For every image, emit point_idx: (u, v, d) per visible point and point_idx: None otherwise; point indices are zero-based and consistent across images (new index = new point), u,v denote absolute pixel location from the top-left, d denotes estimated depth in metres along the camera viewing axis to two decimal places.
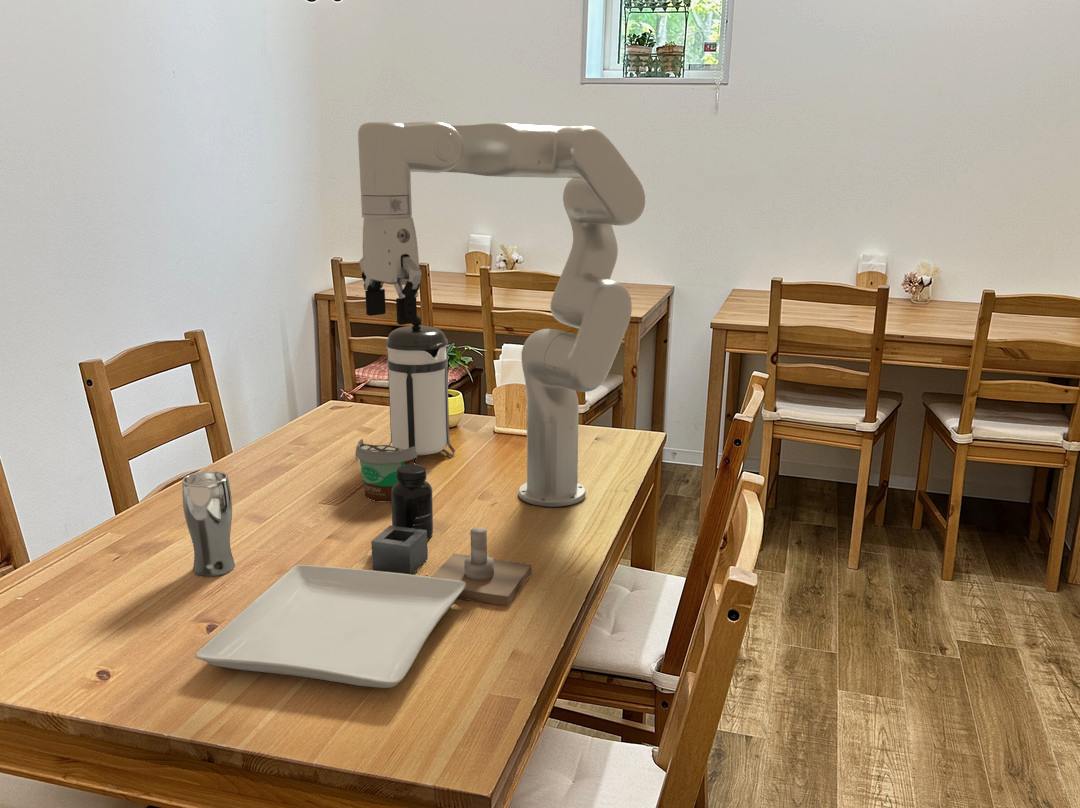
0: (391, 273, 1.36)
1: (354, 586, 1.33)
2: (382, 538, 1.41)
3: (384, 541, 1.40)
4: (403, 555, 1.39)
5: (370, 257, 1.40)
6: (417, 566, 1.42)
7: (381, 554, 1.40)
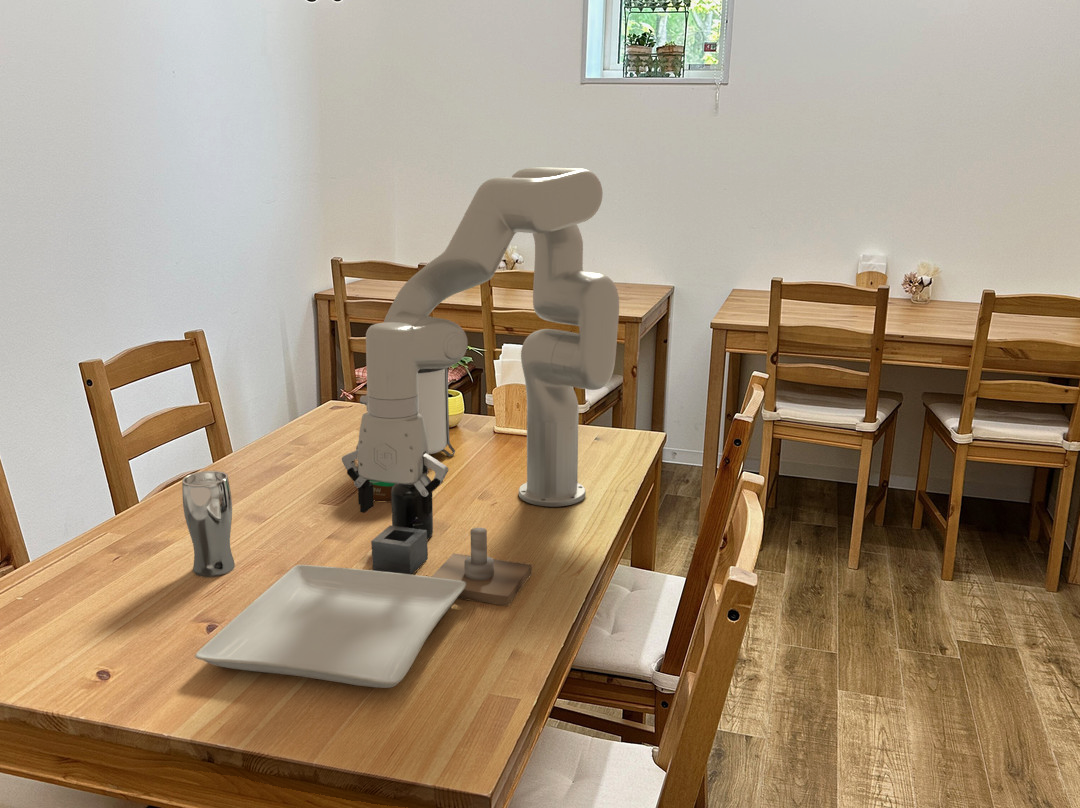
0: None
1: (354, 586, 1.33)
2: (382, 538, 1.41)
3: (384, 541, 1.40)
4: (403, 555, 1.39)
5: None
6: (417, 566, 1.42)
7: (381, 554, 1.40)
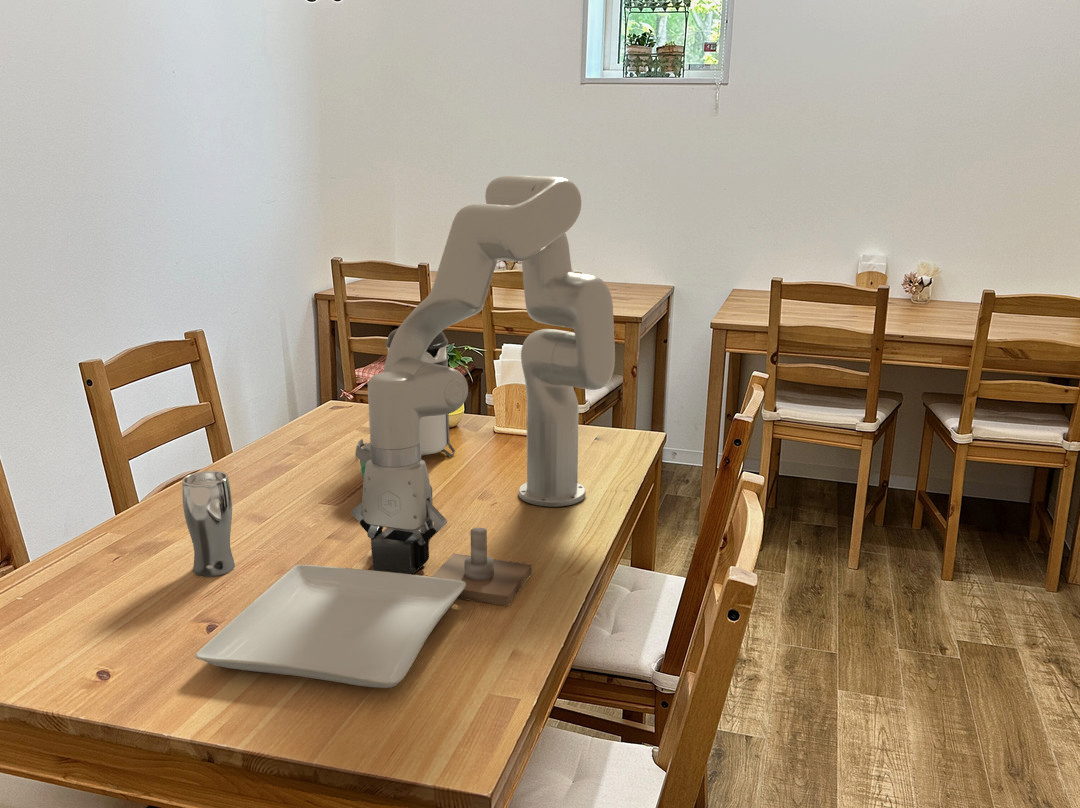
0: None
1: (354, 586, 1.33)
2: (382, 538, 1.41)
3: (384, 541, 1.40)
4: (403, 555, 1.39)
5: None
6: None
7: (381, 554, 1.40)
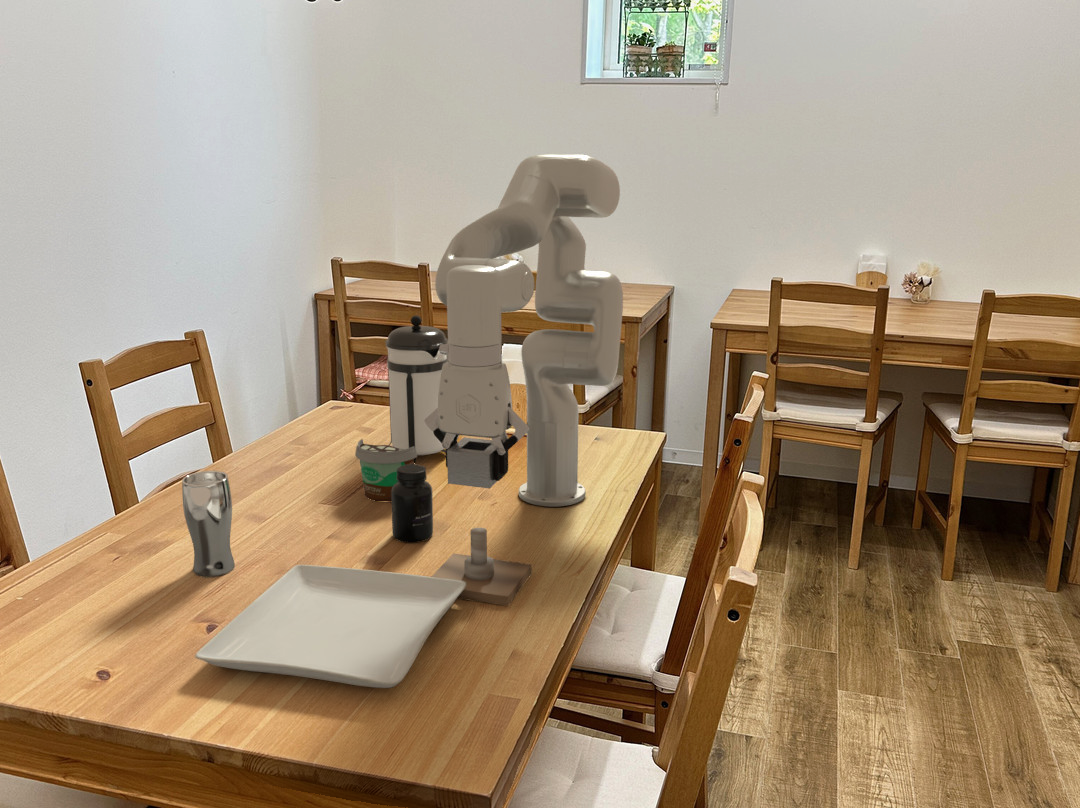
0: None
1: (354, 586, 1.33)
2: (458, 448, 1.31)
3: (461, 451, 1.29)
4: (482, 465, 1.28)
5: None
6: None
7: (458, 465, 1.30)
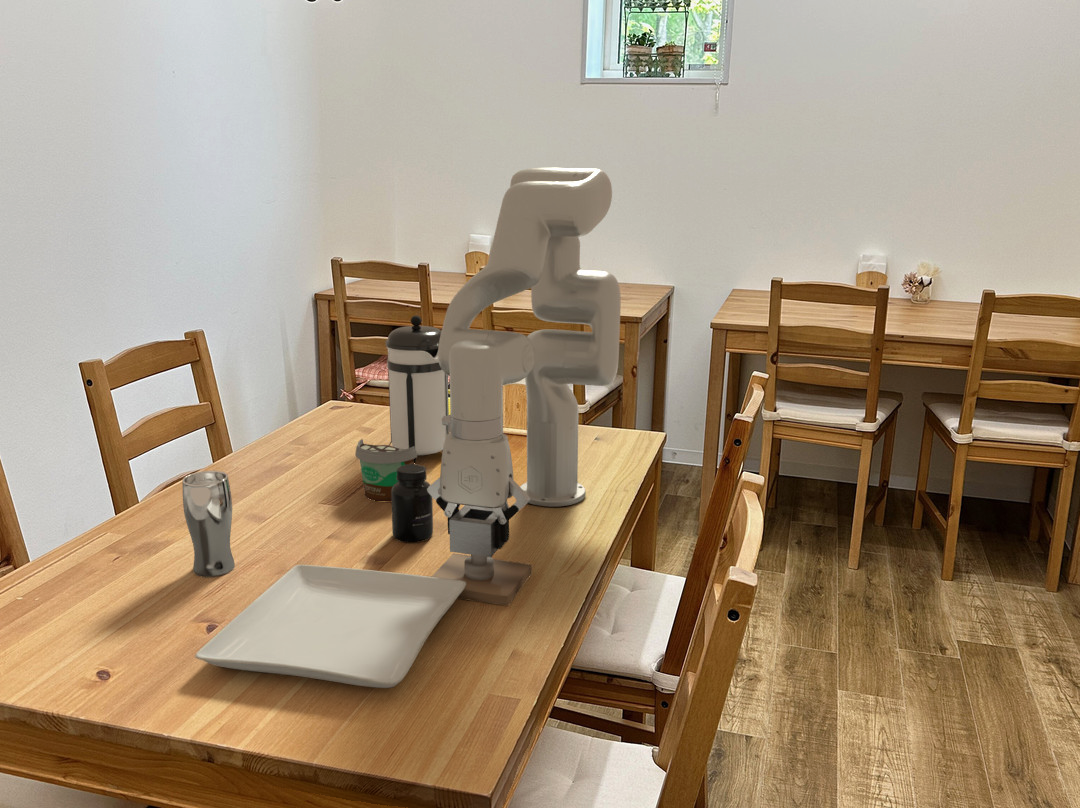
0: None
1: (354, 586, 1.33)
2: (460, 517, 1.33)
3: (463, 520, 1.32)
4: (484, 534, 1.31)
5: None
6: None
7: (460, 534, 1.32)
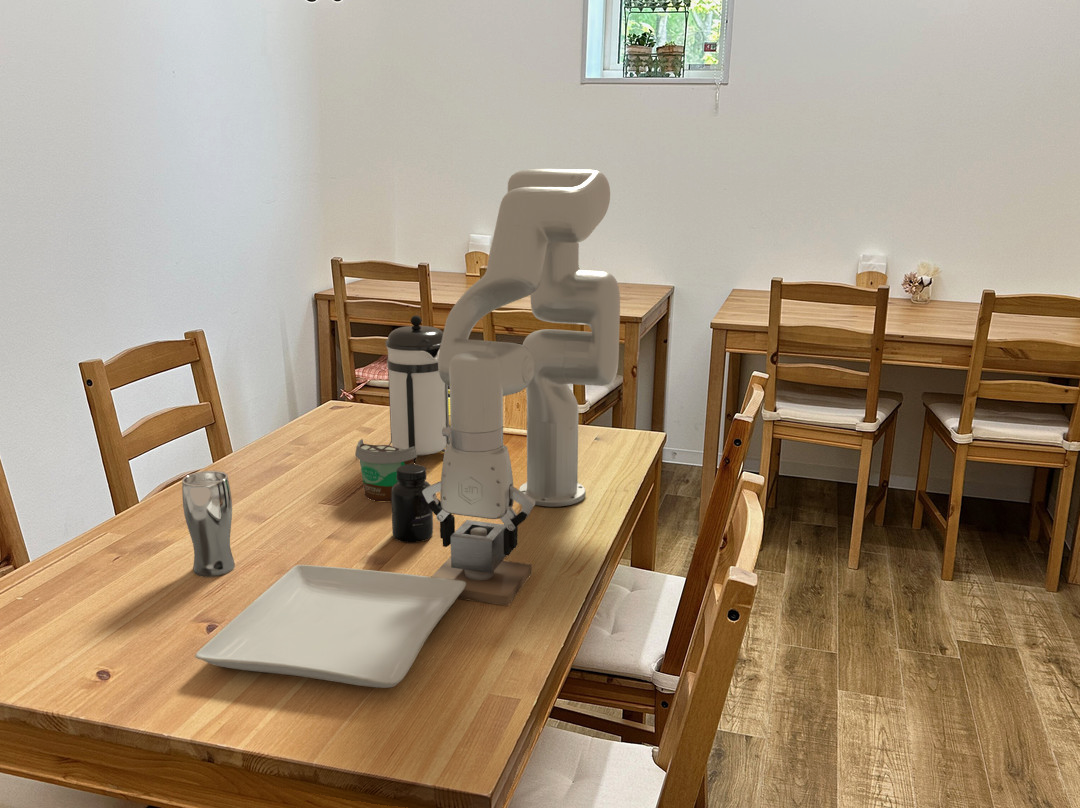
0: None
1: (354, 586, 1.33)
2: (461, 533, 1.34)
3: (464, 536, 1.33)
4: (485, 551, 1.32)
5: None
6: (497, 562, 1.35)
7: (461, 550, 1.33)
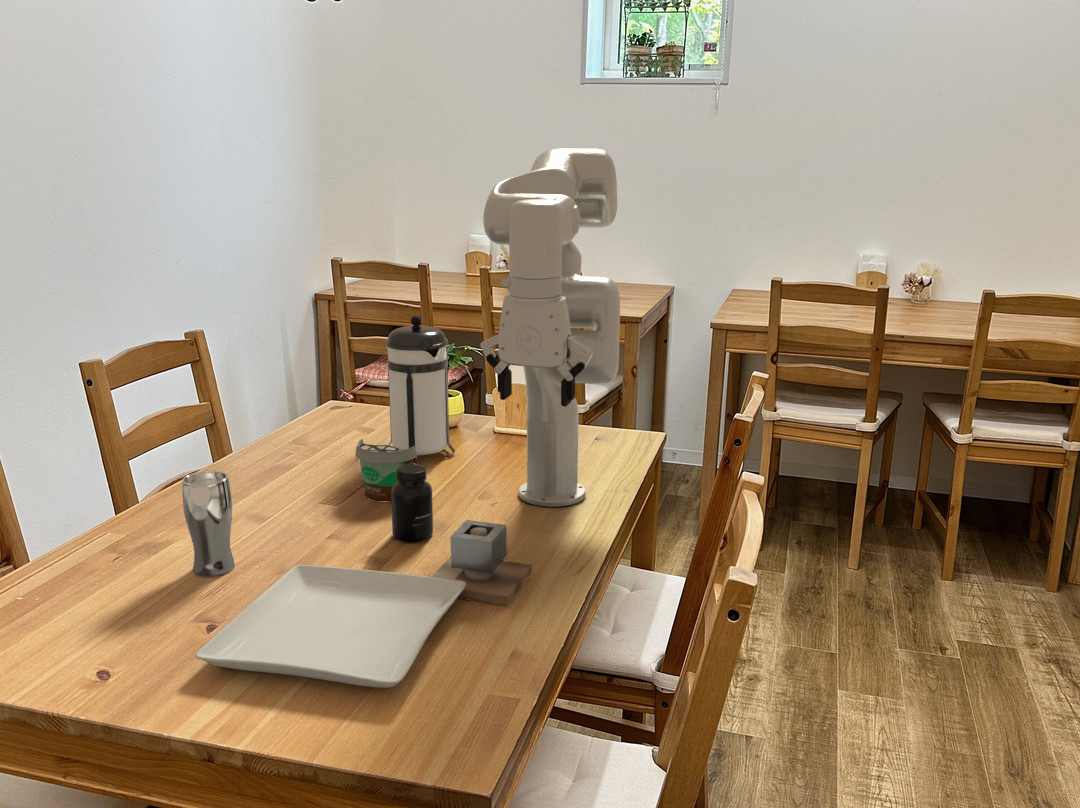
0: None
1: (354, 586, 1.33)
2: (461, 533, 1.34)
3: (464, 536, 1.33)
4: (485, 551, 1.32)
5: None
6: (497, 562, 1.35)
7: (461, 550, 1.33)
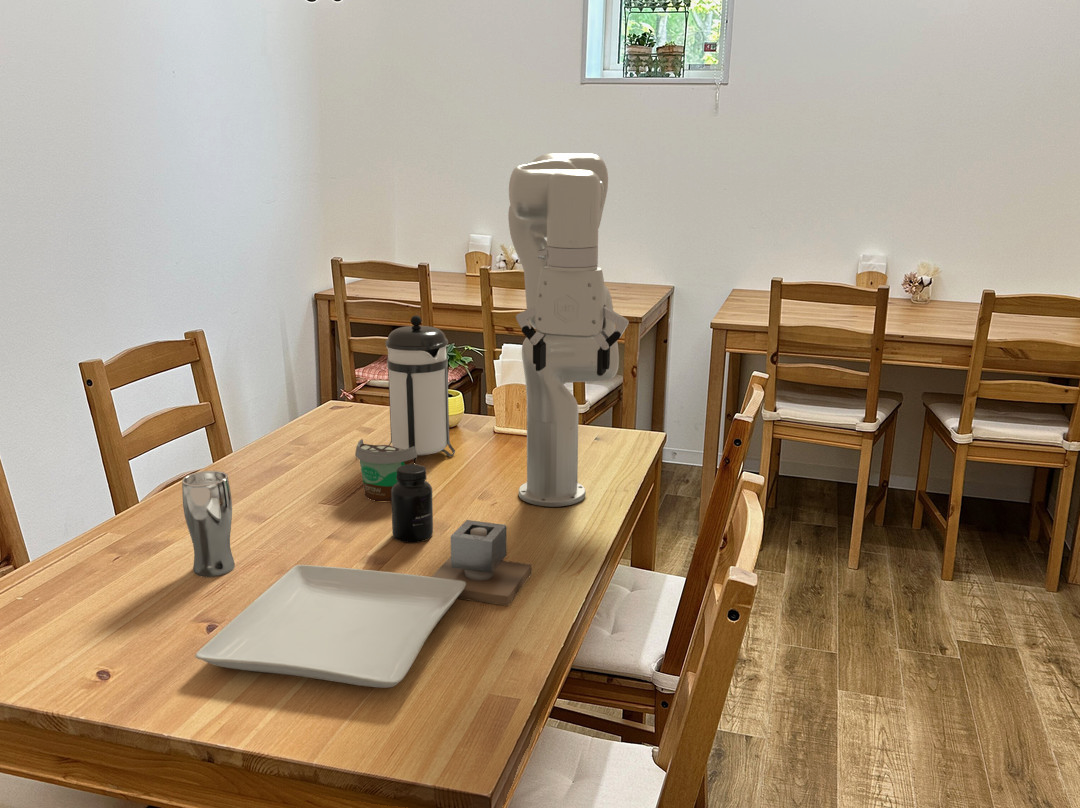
0: None
1: (354, 586, 1.33)
2: (461, 533, 1.34)
3: (464, 536, 1.33)
4: (485, 551, 1.32)
5: None
6: (497, 562, 1.35)
7: (461, 550, 1.33)
